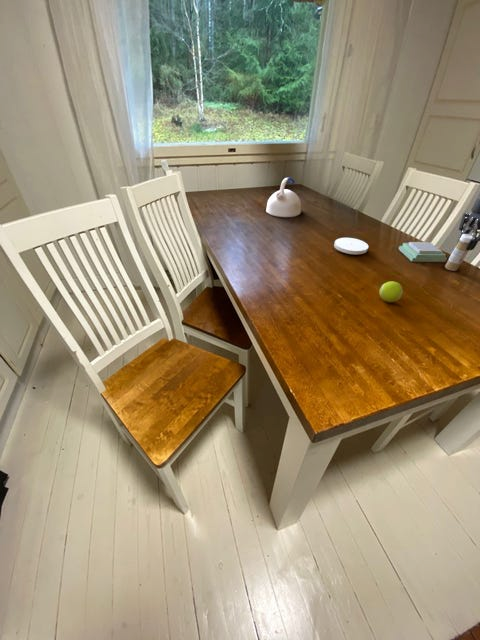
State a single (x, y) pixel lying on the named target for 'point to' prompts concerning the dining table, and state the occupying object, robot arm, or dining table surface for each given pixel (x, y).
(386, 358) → the dining table surface
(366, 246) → the plastic lid
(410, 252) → the scale
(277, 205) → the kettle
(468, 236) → the sprinkles bottle
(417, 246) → the pan
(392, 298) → the tennis ball
